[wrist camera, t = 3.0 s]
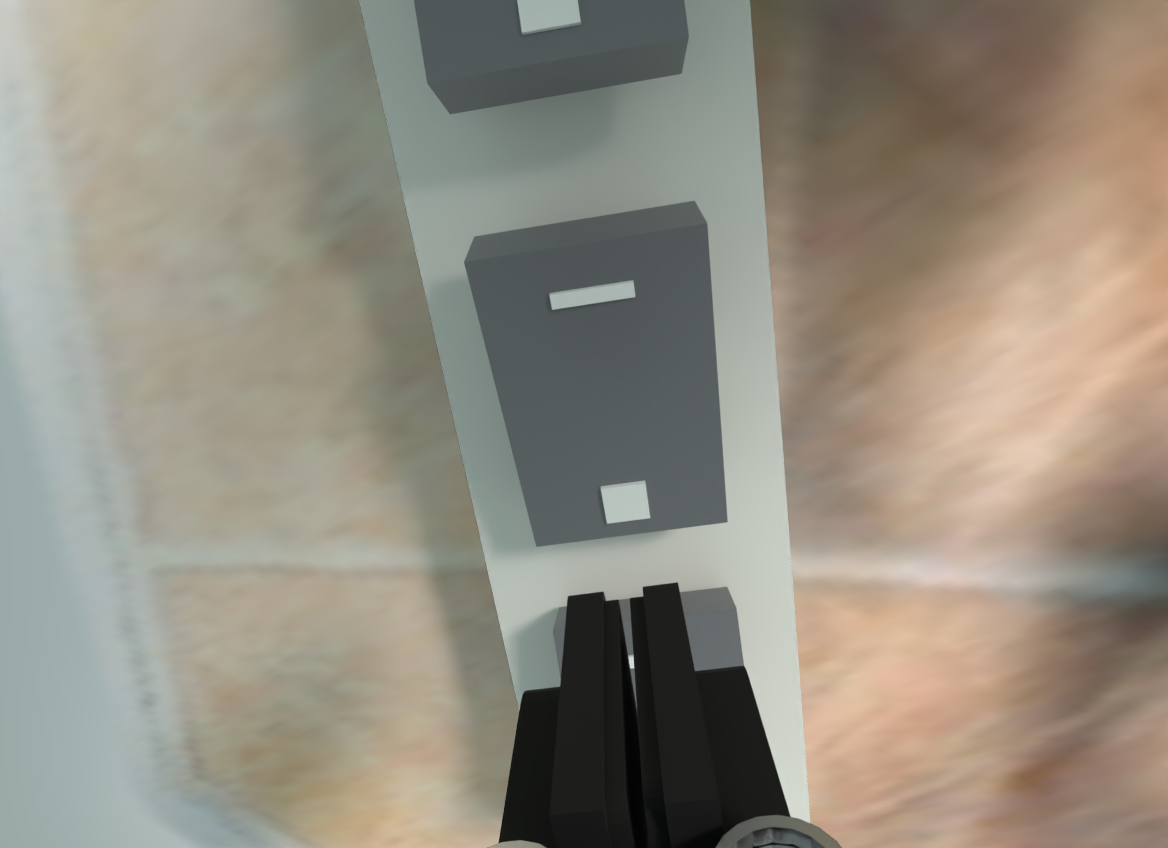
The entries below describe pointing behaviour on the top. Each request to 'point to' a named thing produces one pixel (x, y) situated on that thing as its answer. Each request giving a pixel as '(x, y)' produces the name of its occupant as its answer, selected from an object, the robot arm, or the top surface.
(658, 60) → the rocker
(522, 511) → the power strip
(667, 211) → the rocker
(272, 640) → the top surface
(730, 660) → the plate
